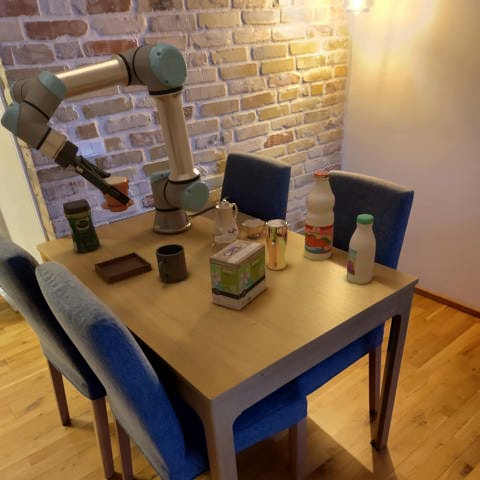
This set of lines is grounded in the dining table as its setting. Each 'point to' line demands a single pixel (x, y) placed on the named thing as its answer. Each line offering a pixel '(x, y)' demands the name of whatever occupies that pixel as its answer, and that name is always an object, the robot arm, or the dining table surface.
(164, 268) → the mug
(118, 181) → the filter
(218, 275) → the tea box
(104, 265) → the tray
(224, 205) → the chinaware
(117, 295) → the dining table surface
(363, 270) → the milk bottle
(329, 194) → the fruit juice
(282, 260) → the beer glass
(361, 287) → the dining table surface
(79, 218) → the coffee jar
